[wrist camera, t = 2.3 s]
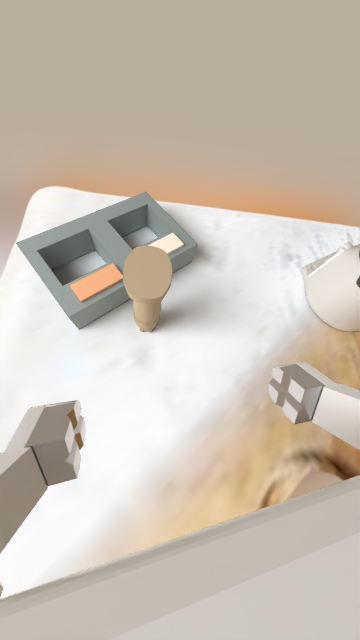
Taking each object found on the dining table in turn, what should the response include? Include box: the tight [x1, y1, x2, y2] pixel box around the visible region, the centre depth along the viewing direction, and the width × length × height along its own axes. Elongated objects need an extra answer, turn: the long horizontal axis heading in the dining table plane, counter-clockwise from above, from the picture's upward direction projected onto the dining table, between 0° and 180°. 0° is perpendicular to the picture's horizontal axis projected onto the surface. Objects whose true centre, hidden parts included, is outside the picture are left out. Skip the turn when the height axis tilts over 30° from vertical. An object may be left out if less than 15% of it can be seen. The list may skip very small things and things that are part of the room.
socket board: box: [16, 192, 197, 330], centre depth 35 cm, size 24×15×6 cm, turn 130°
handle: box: [123, 246, 172, 332], centre depth 27 cm, size 5×6×15 cm
